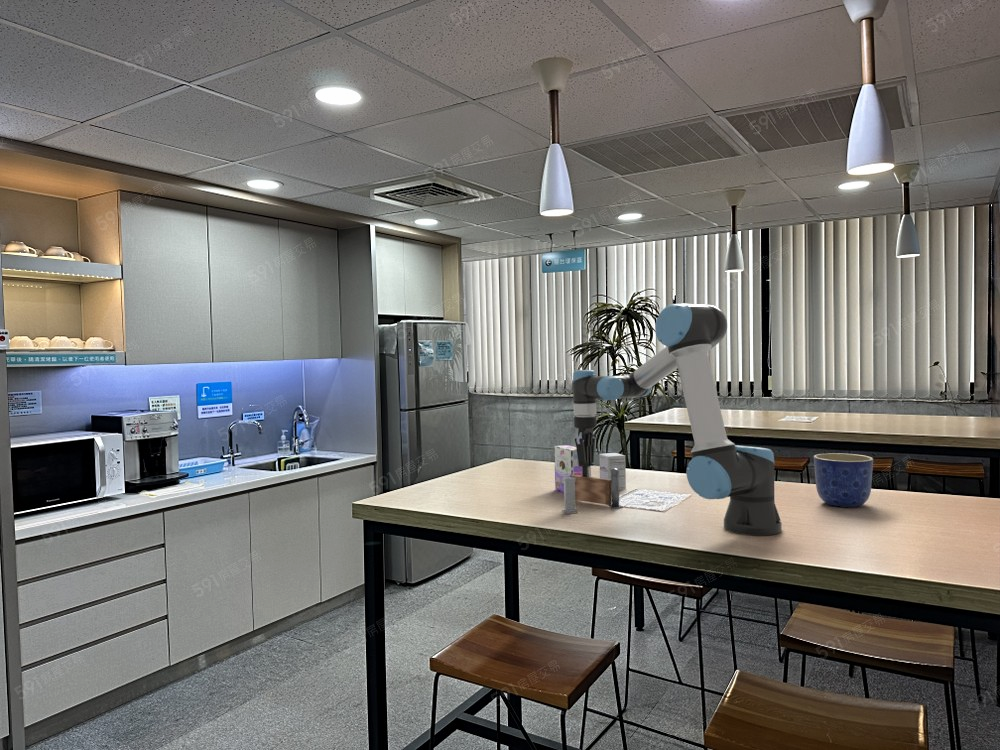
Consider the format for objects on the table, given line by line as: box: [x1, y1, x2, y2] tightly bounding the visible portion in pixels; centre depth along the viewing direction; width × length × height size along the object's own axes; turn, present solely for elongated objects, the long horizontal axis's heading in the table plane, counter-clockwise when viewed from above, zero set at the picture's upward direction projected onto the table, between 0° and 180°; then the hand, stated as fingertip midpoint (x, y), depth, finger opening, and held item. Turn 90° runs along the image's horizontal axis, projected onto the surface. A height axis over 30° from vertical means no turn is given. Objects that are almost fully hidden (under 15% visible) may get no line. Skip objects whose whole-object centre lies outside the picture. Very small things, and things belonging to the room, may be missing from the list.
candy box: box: [553, 444, 582, 494], centre depth 245 cm, size 14×6×16 cm, turn 22°
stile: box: [561, 477, 579, 515], centre depth 213 cm, size 4×4×11 cm
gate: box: [570, 475, 612, 506], centre depth 225 cm, size 15×2×8 cm, turn 49°
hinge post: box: [607, 468, 624, 510], centre depth 219 cm, size 4×4×13 cm
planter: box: [813, 452, 874, 508], centre depth 216 cm, size 17×17×15 cm
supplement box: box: [599, 452, 627, 491], centre depth 250 cm, size 7×7×13 cm
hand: (586, 485), depth 229 cm, fingers closed
